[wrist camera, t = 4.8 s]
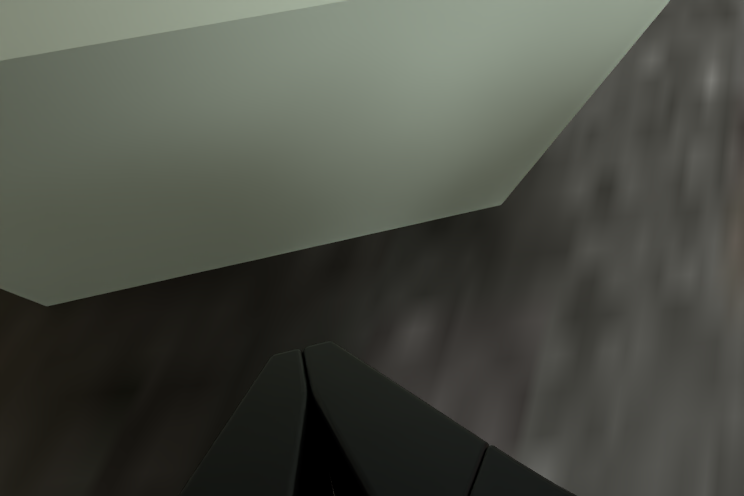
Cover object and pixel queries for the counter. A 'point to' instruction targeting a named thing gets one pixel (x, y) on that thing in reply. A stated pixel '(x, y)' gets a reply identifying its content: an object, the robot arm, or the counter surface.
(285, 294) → the counter surface
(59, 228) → the block
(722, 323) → the counter surface
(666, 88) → the counter surface
